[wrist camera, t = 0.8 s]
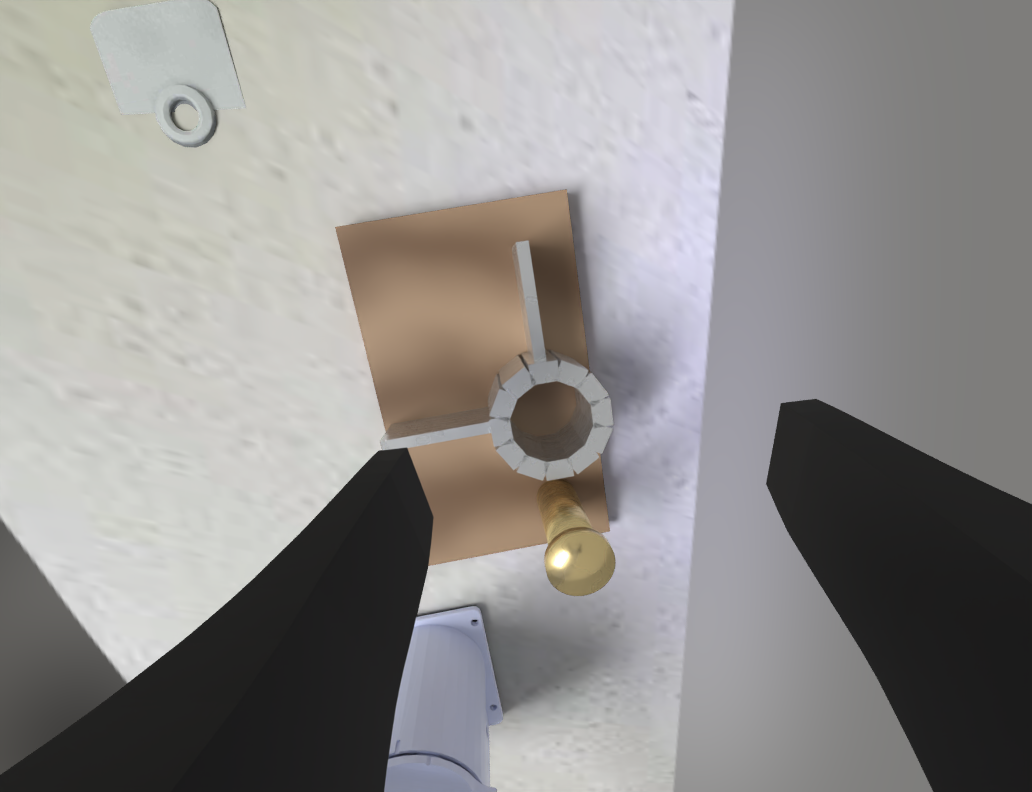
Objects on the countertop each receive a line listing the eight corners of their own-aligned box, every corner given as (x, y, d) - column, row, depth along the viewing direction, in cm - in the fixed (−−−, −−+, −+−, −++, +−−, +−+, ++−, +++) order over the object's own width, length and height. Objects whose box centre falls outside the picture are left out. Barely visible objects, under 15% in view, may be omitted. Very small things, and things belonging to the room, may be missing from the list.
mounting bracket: (229, 419, 26) (81, 12, 21) (236, 415, 27) (95, 21, 22) (328, 401, 26) (205, -13, 21) (333, 398, 27) (215, -4, 21)
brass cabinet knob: (585, 515, 28) (619, 588, 21) (534, 525, 28) (551, 601, 21) (578, 467, 27) (611, 527, 20) (526, 477, 27) (541, 541, 20)
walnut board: (605, 523, 29) (609, 531, 28) (421, 558, 29) (419, 567, 28) (563, 193, 24) (566, 189, 23) (340, 229, 24) (335, 227, 23)
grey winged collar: (598, 441, 27) (618, 467, 23) (404, 477, 26) (390, 510, 22) (572, 237, 24) (590, 227, 20) (354, 274, 24) (329, 271, 20)
